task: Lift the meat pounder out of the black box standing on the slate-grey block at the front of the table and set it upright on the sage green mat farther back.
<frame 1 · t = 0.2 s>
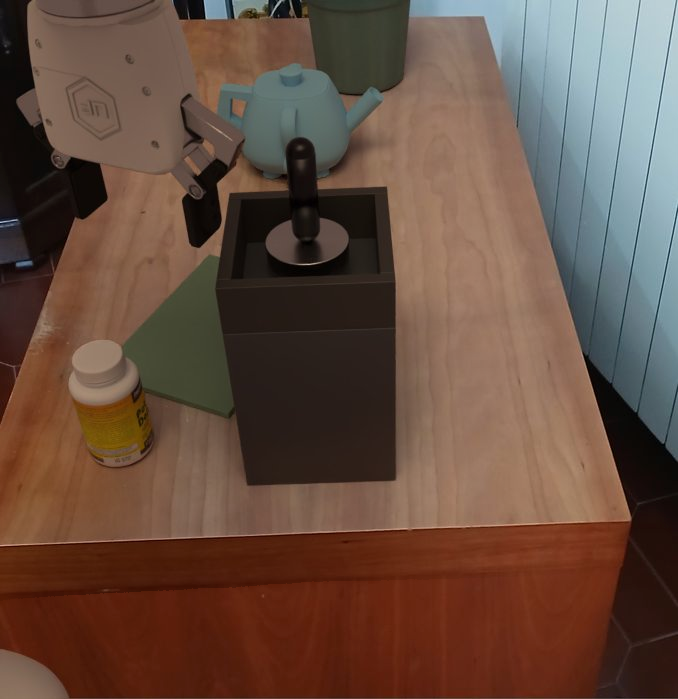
hand: (147, 223, 66), 21 cm above the table, tool pointing down, fingers open, 9 cm apart
green mat: (218, 330, 89), on the table
flower pot: (360, 78, 130), on the table
black box: (321, 429, 79), on the table
teapot: (302, 162, 113), on the table
meat pounder: (310, 279, 68), point 16 cm above the table, touching black box
supplement bottle: (123, 447, 78), on the table
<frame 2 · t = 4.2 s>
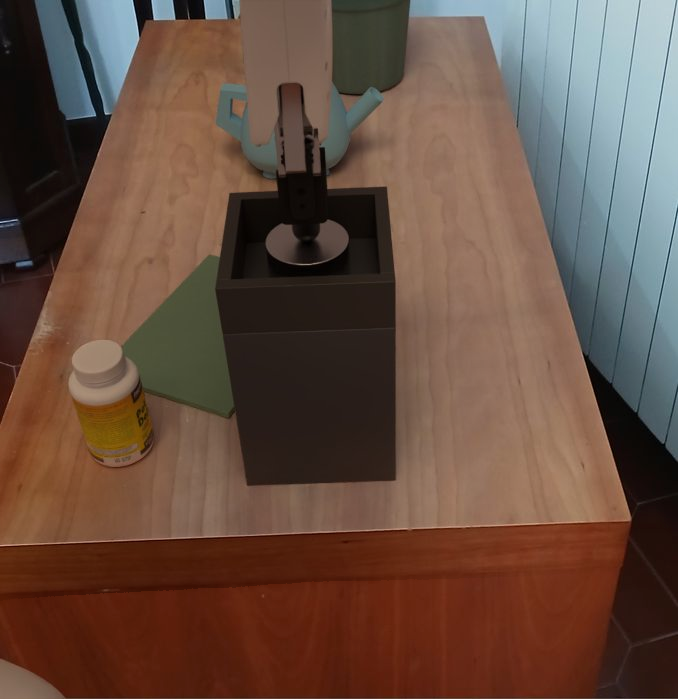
hand: (304, 209, 64), 22 cm above the table, tool pointing down, fingers closed on meat pounder
meat pounder: (310, 279, 68), point 16 cm above the table, touching black box, gripper
everything else where it was.
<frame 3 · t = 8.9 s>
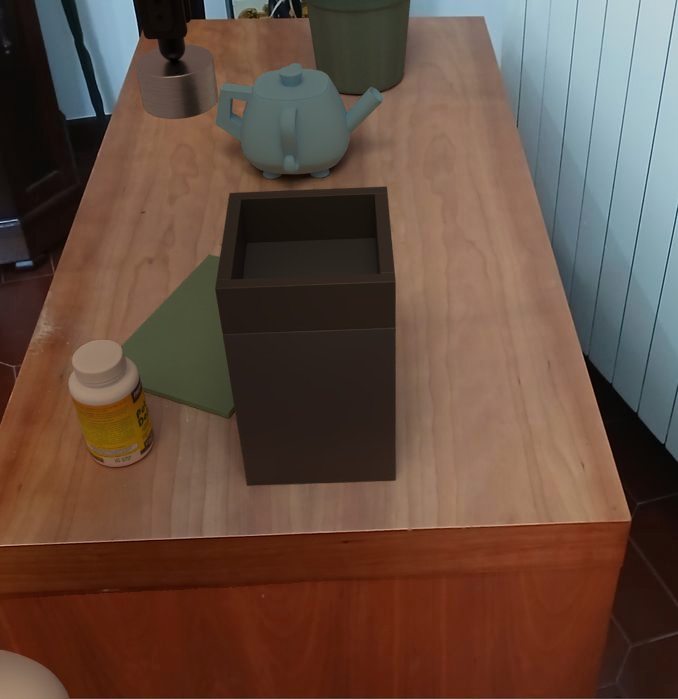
hand: (168, 27, 70), 30 cm above the table, tool pointing down, fingers closed on meat pounder
meat pounder: (181, 101, 74), point 24 cm above the table, touching gripper
everything else where it was.
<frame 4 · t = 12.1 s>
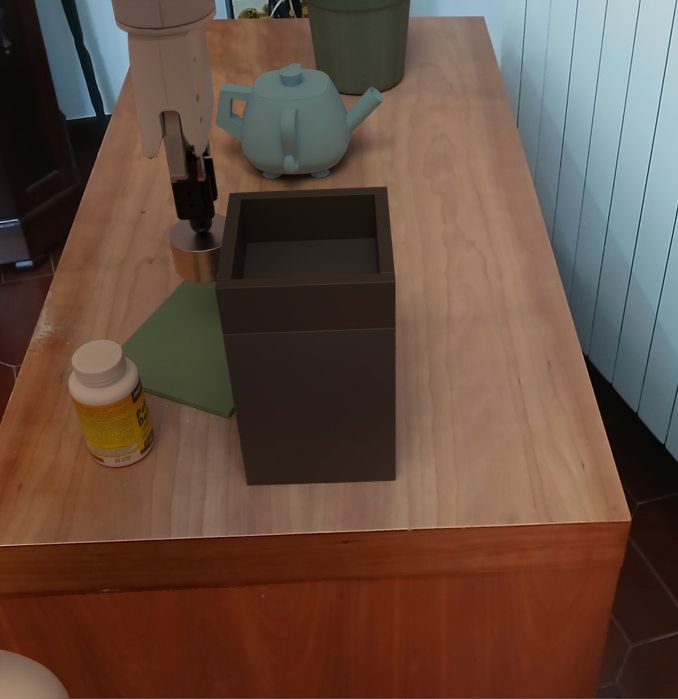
hand: (198, 207, 80), 14 cm above the table, tool pointing down, fingers closed on meat pounder
meat pounder: (207, 263, 84), point 8 cm above the table, touching gripper
everything else where it was.
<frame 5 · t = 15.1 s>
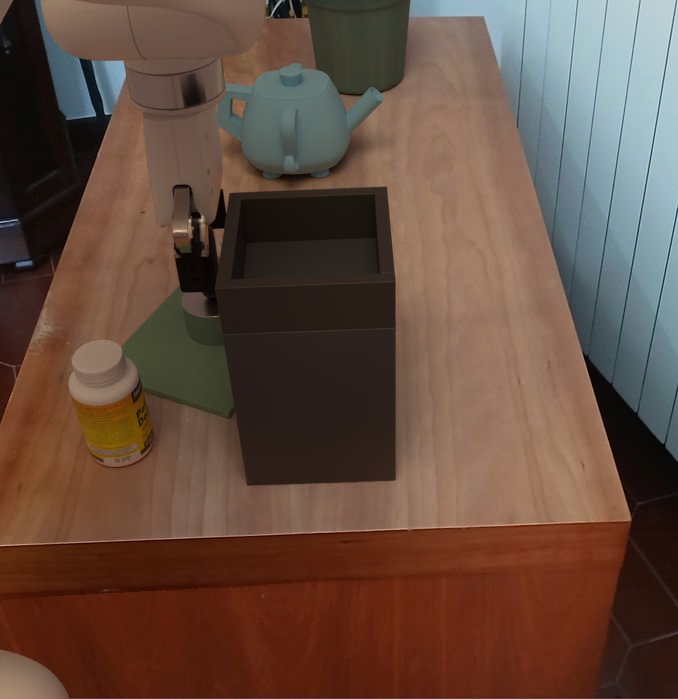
hand: (205, 257, 83), 9 cm above the table, tool pointing down, fingers open, 9 cm apart
meat pounder: (217, 325, 89), point 1 cm above the table, touching green mat
everything else where it was.
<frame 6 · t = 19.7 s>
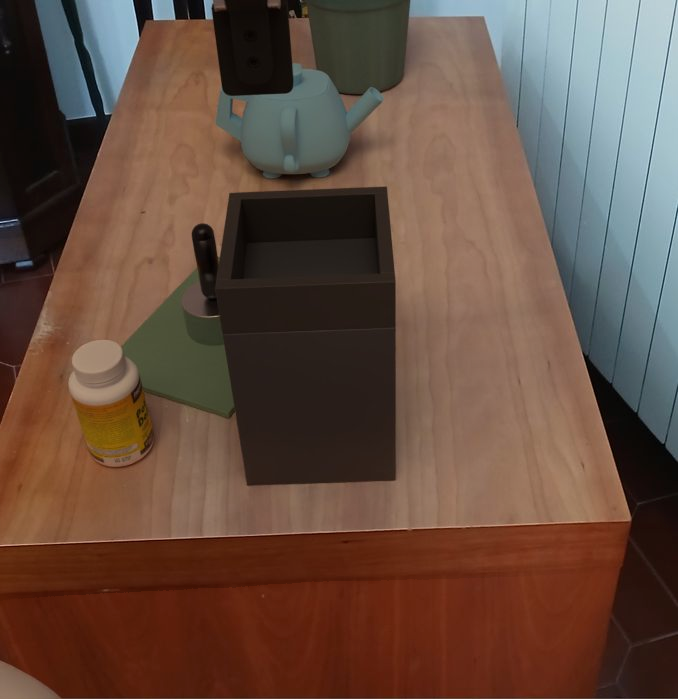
hand: (264, 47, 45), 38 cm above the table, tool pointing down, fingers open, 9 cm apart
nothing on the table moved.
at the end: meat pounder inside the target area on the green mat (0.1 cm from its centre), point 0.6 cm above the green mat's base; meat pounder tilted 0°; meat pounder touching green mat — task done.
